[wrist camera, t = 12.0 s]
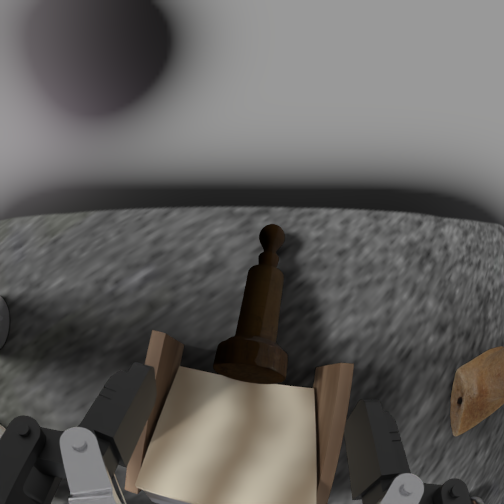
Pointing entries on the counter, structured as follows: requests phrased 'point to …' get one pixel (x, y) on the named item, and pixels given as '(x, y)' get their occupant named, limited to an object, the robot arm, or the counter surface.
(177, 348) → the brown upright panels
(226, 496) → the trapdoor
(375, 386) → the counter surface
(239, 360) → the brown wooden pepper mill
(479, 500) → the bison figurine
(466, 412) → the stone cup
